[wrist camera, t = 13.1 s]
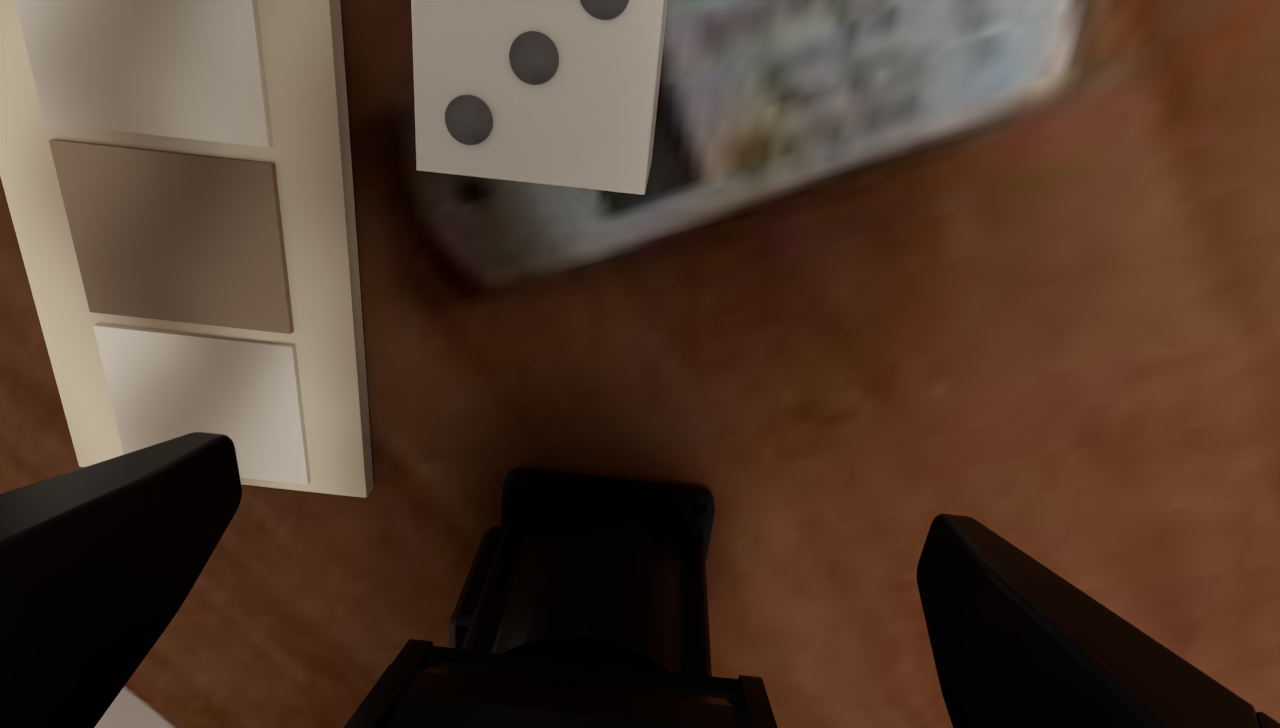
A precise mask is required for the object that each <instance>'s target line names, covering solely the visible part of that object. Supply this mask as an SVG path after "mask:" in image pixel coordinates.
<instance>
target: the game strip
mask: <svg viewBox="0 0 1280 728" xmlns="http://www.w3.org/2000/svg"><path fill="white" fill-rule="evenodd" d="M0 177H1V180H2V184H3V188H4V191H5V195H6V199H7V202H8V206H9V210H10V213H11V217H12V221H13V224H14V228H15V232H16V235H17V239H18V243H19V246H20V250H21V254H22V257H23V261H24V265H25V268H26V272H27V276H28V279H29V283H30V287H31V290H32V294H33V298H34V302H35V305H36V309H37V313H38V316H39V320H40V324H41V327H42V331H43V335H44V338H45V342H46V346H47V349H48V353H49V357H50V360H51V364H52V368H53V371H54V375H55V379H56V382H57V386H58V390H59V393H60V397H61V401H62V404H63V408H64V412H65V416H66V419H67V423H68V427H69V430H70V434H71V438H72V441H73V445H74V449H75V452H76V456H77V460H78V463H79V466H80V467H87V466H90V465H93V464H96V463H99V462H103V461H106V460H109V459H112V458H115V457H118V456H121V455H124V454H127V453H130V452H134V451H137V450H140V449H143V448H146V447H149V446H152V445H155V444H158V443H161V442H165V441H168V440H171V439H174V438H177V437H180V436H183V435H186V434H189V433H193V432H205V433H214V434H223V435H227V436H228V437H230V438H231V439H232V441H233V443H234V446H235V450H236V456H237V462H238V468H239V475H240V481H241V484H244V485H253V486H262V487H271V488H280V489H289V490H298V491H308V492H317V493H326V494H335V495H344V496H353V497H362V498H367V497H368V495H369V494H370V492H371V491H372V489H373V488H374V479H373V465H372V450H371V436H370V421H369V407H368V393H367V378H366V364H365V349H364V335H363V320H362V306H361V292H360V277H359V263H358V248H357V234H356V219H355V205H354V191H353V176H352V162H351V147H350V133H349V119H348V104H347V90H346V75H345V61H344V46H343V32H342V18H341V3H340V0H0Z"/></svg>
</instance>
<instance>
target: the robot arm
mask: <svg viewBox="0 0 1280 728" xmlns="http://www.w3.org/2000/svg"><path fill="white" fill-rule="evenodd" d="M515 482H521V483H524V484H525V485H526V486H527V488H524V489H521V488H518V487H516V486H515V485H514V483H515ZM241 495H242V487H241V481H240V475H239V468H238V462H237V456H236V450H235V446H234V443H233V441H232V439H231V438H230V437H228V436H227V435H223V434H214V433H205V432H193V433H189V434H186V435H183V436H180V437H177V438H174V439H171V440H168V441H165V442H161V443H158V444H155V445H152V446H149V447H146V448H143V449H140V450H137V451H134V452H130V453H127V454H124V455H121V456H118V457H115V458H112V459H109V460H106V461H103V462H99V463H96V464H93V465H90V466H87V467H84V468H81V469H78V470H75V471H72V472H68V473H65V474H62V475H59V476H56V477H53V478H50V479H47V480H44V481H41V482H37V483H34V484H31V485H28V486H25V487H22V488H19V489H16V490H13V491H9V492H6V493H3V494H0V728H94V727H95V726H96V724H97V723H98V721H99V720H100V719H101V717H102V716H103V715H104V713H105V712H106V710H107V709H108V707H109V706H110V705H111V703H112V702H113V701H114V699H115V698H116V697H117V695H118V694H119V692H120V691H121V690H122V688H123V687H124V686H125V684H126V683H127V681H128V680H129V679H130V677H131V676H132V675H133V673H134V672H135V670H136V669H137V668H138V666H139V665H140V663H141V662H142V661H143V659H144V658H145V657H146V655H147V654H148V652H149V651H150V650H151V648H152V647H153V646H154V644H155V643H156V641H157V640H158V639H159V637H160V636H161V634H162V633H163V632H164V630H165V629H166V627H167V626H168V625H169V623H170V622H171V620H172V619H173V617H174V616H175V614H176V613H177V611H178V610H179V608H180V607H181V605H182V604H183V602H184V600H185V599H186V597H187V596H188V594H189V592H190V591H191V589H192V587H193V585H194V584H195V582H196V580H197V578H198V577H199V575H200V573H201V572H202V570H203V568H204V566H205V565H206V563H207V561H208V559H209V558H210V556H211V554H212V552H213V551H214V549H215V547H216V546H217V544H218V542H219V540H220V539H221V537H222V535H223V533H224V532H225V530H226V528H227V527H228V525H229V523H230V521H231V520H232V518H233V516H234V514H235V513H236V511H237V509H238V507H239V504H240V501H241ZM695 502H702V503H704V504H705V505H704V506H703V507H701V508H695V507H693V506H692V504H693V503H695ZM714 511H715V508H714V497H713V496H712V494H711V493H710V492H709V491H708V490H706V489H703V488H699V487H690V486H680V485H671V484H662V483H653V482H644V481H635V480H626V479H616V478H607V477H598V476H589V475H580V474H571V473H562V472H553V471H543V470H534V469H525V468H517V469H514V470H512V471H510V472H509V473H508V475H507V476H506V479H505V482H504V485H503V505H502V527H493V526H492V527H491V528H490V529H488V530H487V531H486V532H485V533H484V536H483V538H482V541H481V544H480V546H479V549H478V551H477V554H476V556H475V559H474V561H473V564H472V566H471V569H470V571H469V574H468V576H467V579H466V582H465V584H464V587H463V589H462V592H461V594H460V597H459V599H458V602H457V604H456V607H455V609H454V612H453V614H452V617H451V620H450V648H447V647H438V646H433V643H432V641H424V640H414V639H410V640H409V641H408V642H407V643H406V645H405V646H404V647H403V649H402V650H401V652H400V653H399V654H398V656H397V657H396V658H395V660H394V661H393V662H392V664H390V665H389V666H388V668H387V669H386V670H385V672H384V673H383V674H382V676H381V677H380V679H379V680H378V681H377V683H376V684H375V685H374V687H373V688H372V690H371V691H370V692H369V694H368V695H367V696H366V698H365V699H364V701H363V702H362V703H361V705H360V706H359V707H358V709H357V710H356V712H355V713H354V714H353V716H352V717H351V718H350V720H349V721H348V723H347V724H346V725H345V727H344V728H777V725H776V721H775V718H774V715H773V712H772V709H771V706H770V702H769V699H768V696H767V693H766V690H765V686H764V683H763V680H762V678H761V677H753V676H744V675H739V678H738V679H731V678H722V677H712V671H711V653H710V635H709V617H708V599H707V582H706V558H707V552H708V546H709V540H710V535H711V529H712V523H713V517H714ZM917 584H918V589H919V593H920V598H921V602H922V607H923V611H924V616H925V620H926V625H927V629H928V634H929V638H930V643H931V647H932V652H933V656H934V661H935V665H936V670H937V674H938V678H939V682H940V686H941V690H942V694H943V697H944V701H945V704H946V707H947V710H948V713H949V716H950V719H951V722H952V725H953V728H1280V723H1278V722H1277V721H1275V720H1274V719H1272V718H1271V717H1269V716H1268V715H1266V714H1265V713H1263V712H1255V708H1254V707H1253V706H1252V705H1251V704H1249V703H1248V702H1246V701H1245V700H1244V699H1242V698H1241V697H1239V696H1238V695H1236V694H1235V693H1233V692H1232V691H1230V690H1229V689H1227V688H1226V687H1224V686H1223V685H1221V684H1220V683H1218V682H1217V681H1215V680H1214V679H1212V678H1211V677H1209V676H1208V675H1206V674H1205V673H1203V672H1202V671H1200V670H1199V669H1197V668H1196V667H1194V666H1193V665H1191V664H1190V663H1188V662H1187V661H1185V660H1184V659H1182V658H1181V657H1179V656H1178V655H1176V654H1175V653H1173V652H1172V651H1170V650H1169V649H1167V648H1166V647H1164V646H1163V645H1161V644H1160V643H1158V642H1157V641H1155V640H1154V639H1152V638H1151V637H1149V636H1148V635H1146V634H1145V633H1143V632H1142V631H1140V630H1139V629H1137V628H1136V627H1135V626H1133V625H1132V624H1130V623H1129V622H1127V621H1126V620H1124V619H1123V618H1121V617H1120V616H1118V615H1117V614H1115V613H1114V612H1112V611H1111V610H1109V609H1108V608H1106V607H1105V606H1103V605H1102V604H1100V603H1099V602H1097V601H1096V600H1094V599H1093V598H1091V597H1090V596H1088V595H1087V594H1085V593H1084V592H1082V591H1081V590H1079V589H1078V588H1076V587H1075V586H1073V585H1072V584H1070V583H1069V582H1067V581H1066V580H1064V579H1063V578H1061V577H1060V576H1058V575H1057V574H1055V573H1054V572H1052V571H1051V570H1049V569H1048V568H1046V567H1045V566H1044V565H1042V564H1041V563H1039V562H1038V561H1036V560H1035V559H1033V558H1032V557H1030V556H1029V555H1027V554H1026V553H1024V552H1023V551H1021V550H1020V549H1018V548H1017V547H1015V546H1014V545H1012V544H1011V543H1009V542H1008V541H1006V540H1005V539H1003V538H1002V537H1000V536H999V535H997V534H996V533H994V532H993V531H991V530H990V529H988V528H987V527H985V526H984V525H982V524H981V523H979V522H978V521H976V520H975V519H973V518H971V517H968V516H959V515H950V514H940V515H938V516H936V517H935V518H934V520H933V521H932V524H931V526H930V529H929V532H928V535H927V538H926V541H925V544H924V547H923V550H922V553H921V556H920V559H919V563H918V567H917Z"/></svg>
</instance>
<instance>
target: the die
mask: <svg viewBox="0 0 1280 728" xmlns="http://www.w3.org/2000/svg"><path fill="white" fill-rule="evenodd" d="M667 7H668V0H411V12H412V43H413V74H414V105H415V135H416V166H417V170H418V171H428V172H437V173H446V174H455V175H465V176H474V177H483V178H492V179H502V180H511V181H520V182H529V183H538V184H548V185H557V186H566V187H575V188H585V189H594V190H603V191H612V192H621V193H631V194H640V195H645V190H646V185H647V181H648V176H649V172H650V167H651V162H652V154H653V144H654V134H655V124H656V115H657V105H658V95H659V85H660V75H661V66H662V56H663V46H664V36H665V26H666V16H667Z"/></svg>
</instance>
